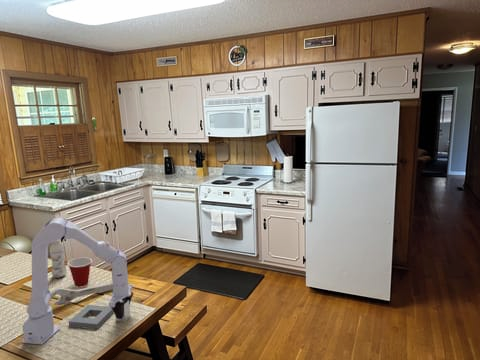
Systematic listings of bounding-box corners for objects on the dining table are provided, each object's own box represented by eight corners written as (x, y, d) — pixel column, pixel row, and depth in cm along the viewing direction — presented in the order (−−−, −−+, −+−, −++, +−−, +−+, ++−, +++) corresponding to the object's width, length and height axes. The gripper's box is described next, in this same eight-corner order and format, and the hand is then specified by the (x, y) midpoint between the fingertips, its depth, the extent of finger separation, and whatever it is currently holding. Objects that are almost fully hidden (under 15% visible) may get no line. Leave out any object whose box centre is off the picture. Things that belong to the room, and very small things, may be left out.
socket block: (97, 328, 123) (97, 324, 123) (69, 326, 125) (68, 321, 125) (114, 311, 135) (114, 307, 134) (88, 309, 137) (87, 304, 136)
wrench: (121, 293, 156) (50, 309, 136) (119, 291, 157) (49, 307, 137) (122, 277, 155) (50, 291, 135) (120, 275, 156) (49, 289, 137)
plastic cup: (87, 289, 154) (85, 265, 152) (65, 289, 154) (62, 265, 152) (98, 279, 164) (96, 256, 162) (76, 279, 164) (74, 256, 163)
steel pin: (125, 321, 128) (123, 305, 126) (115, 320, 128) (114, 304, 127) (130, 315, 131) (129, 299, 130) (121, 315, 132) (119, 299, 131)
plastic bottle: (52, 275, 169) (48, 238, 166) (67, 272, 172) (63, 236, 169) (51, 280, 163) (47, 242, 160) (66, 277, 166) (62, 240, 163)
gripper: (120, 292, 120) (122, 326, 122) (138, 274, 134) (140, 305, 136) (102, 291, 121) (105, 324, 123) (122, 273, 135) (124, 304, 137)
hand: (122, 314), depth 130 cm, fingers open, 5 cm apart
